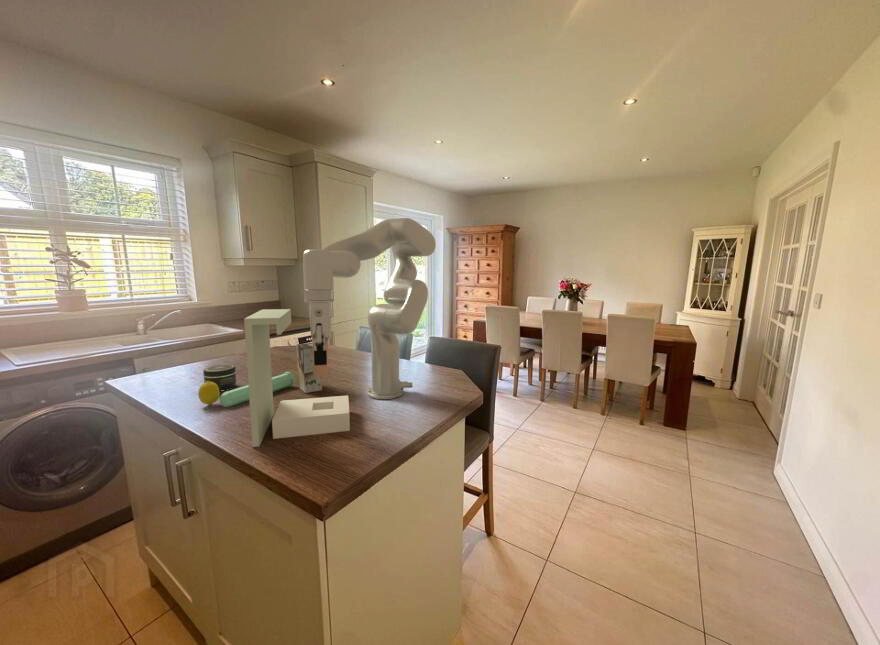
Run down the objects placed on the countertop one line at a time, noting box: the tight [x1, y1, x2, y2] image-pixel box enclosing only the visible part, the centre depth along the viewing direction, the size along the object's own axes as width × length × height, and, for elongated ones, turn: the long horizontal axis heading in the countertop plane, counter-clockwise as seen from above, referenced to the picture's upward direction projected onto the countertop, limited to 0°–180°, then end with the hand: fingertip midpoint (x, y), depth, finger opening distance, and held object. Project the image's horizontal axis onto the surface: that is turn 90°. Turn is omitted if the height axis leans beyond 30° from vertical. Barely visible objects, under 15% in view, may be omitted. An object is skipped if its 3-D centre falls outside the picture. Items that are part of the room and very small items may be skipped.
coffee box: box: [296, 342, 323, 394], centre depth 127 cm, size 9×6×16 cm
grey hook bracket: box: [243, 308, 292, 448], centre depth 94 cm, size 8×20×32 cm, turn 16°
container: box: [219, 371, 296, 408], centre depth 120 cm, size 6×6×25 cm
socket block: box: [271, 394, 351, 440], centre depth 99 cm, size 19×14×5 cm
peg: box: [311, 334, 330, 378], centre depth 97 cm, size 4×4×12 cm
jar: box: [202, 363, 237, 392], centre depth 127 cm, size 10×10×8 cm
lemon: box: [197, 381, 221, 406], centre depth 110 cm, size 6×6×8 cm
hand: (321, 362), depth 97 cm, fingers closed on peg, 4 cm apart
